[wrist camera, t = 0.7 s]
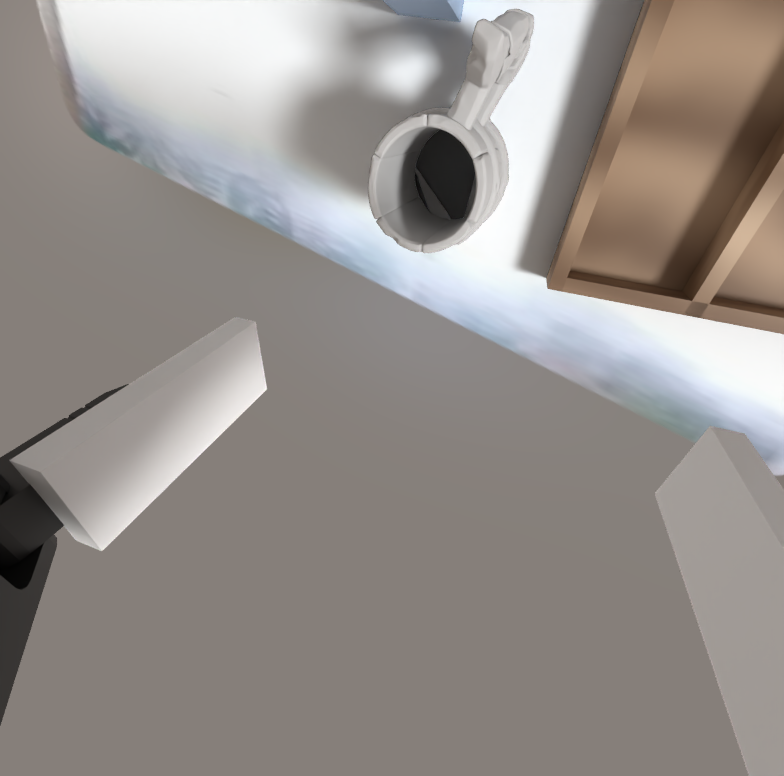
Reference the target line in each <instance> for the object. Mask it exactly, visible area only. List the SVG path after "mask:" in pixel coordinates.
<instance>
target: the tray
mask: <svg viewBox="0 0 784 776" xmlns="http://www.w3.org/2000/svg"><path fill="white" fill-rule="evenodd" d="M546 279H547V288H548V289H552V290H557V291H562V292H568V293H573V294H578V295H583V296H588V297H594V298H599V299H604V300H609V301H614V302H620V303H625V304H630V305H635V306H640V307H646V308H651V309H656V310H661V311H666V312H672V313H677V314H682V315H687V316H692V317H697V318H703V319H708V320H713V321H718V322H723V323H729V324H734V325H739V326H744V327H749V328H755V329H760V330H765V331H770V332H775V333H781V334H784V0H644V3H643V6H642V8H641V11H640V14H639V17H638V20H637V23H636V25H635V28H634V31H633V34H632V37H631V40H630V42H629V45H628V48H627V51H626V54H625V57H624V59H623V62H622V65H621V68H620V71H619V74H618V76H617V79H616V82H615V85H614V88H613V91H612V94H611V96H610V99H609V102H608V105H607V108H606V111H605V113H604V116H603V119H602V122H601V125H600V128H599V130H598V133H597V136H596V139H595V142H594V145H593V147H592V150H591V153H590V156H589V159H588V162H587V164H586V167H585V170H584V173H583V176H582V179H581V181H580V184H579V187H578V190H577V193H576V196H575V198H574V201H573V204H572V207H571V210H570V213H569V215H568V218H567V221H566V224H565V227H564V230H563V232H562V235H561V238H560V241H559V244H558V247H557V249H556V252H555V255H554V258H553V261H552V264H551V266H550V269H549V272H548V275H547V278H546Z"/></svg>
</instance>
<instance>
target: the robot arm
mask: <svg viewBox="0 0 784 776" xmlns="http://www.w3.org/2000/svg"><path fill="white" fill-rule="evenodd" d="M266 389H267V387H266V380H265V375H264V369H263V363H262V357H261V352H260V345H259V339H258V333H257V327H256V322H255V321H250V320H246V319H242V318H237V317H235V318H233V319H231V320H230V321H228V322H227V323H225V324H223V325H222V326H220V327H219V328H217V329H215V330H214V331H212V332H211V333H209V334H208V335H206V336H205V337H203V338H201V339H200V340H198V341H197V342H195V343H193V344H192V345H190V346H189V347H187V348H186V349H184V350H183V351H181V352H179V353H178V354H176V355H175V356H173V357H171V358H170V359H168V360H167V361H165V362H164V363H162V364H160V365H159V366H157V367H156V368H154V369H152V370H151V371H149V372H148V373H146V374H145V375H143V376H141V377H140V378H138V379H137V380H135V381H134V382H132V383H131V384H127V385H125V386H122V387H119V388H117V389H114V390H111V391H109V392H106V393H104V394H103V395H101V396H99V397H98V398H96V399H94V400H93V401H91V402H90V403H88V404H86V405H85V408H80V409H78V410H77V411H75V412H73V413H72V414H71V415H69V417H68V418H67V419H66V418H64V419H62V420H60V421H59V422H57V423H56V424H54V425H53V426H51V427H49V428H48V429H46V430H44V431H43V432H41V433H40V434H38V435H36V436H35V437H33V438H31V439H30V440H28V441H27V442H25V443H23V444H22V445H20V446H18V447H17V448H16V449H14V450H12V451H10V452H9V453H7V454H6V455H4V456H2V457H1V458H0V725H1V722H2V718H3V715H4V712H5V709H6V706H7V703H8V699H9V696H10V693H11V690H12V687H13V684H14V680H15V677H16V674H17V671H18V667H19V665H20V661H21V658H22V655H23V652H24V649H25V645H26V642H27V639H28V636H29V633H30V630H31V627H32V623H33V620H34V617H35V614H36V610H37V608H38V604H39V601H40V598H41V595H42V592H43V589H44V585H45V582H46V579H47V576H48V573H49V569H50V566H51V563H52V560H53V557H54V554H55V551H56V547H57V538H56V537H55V535H54V534H55V533H56V532H57V531H58V530H59V529H61V528H62V527H63V526H65V528H66V529H67V530H68V531H69V533H70V534H71V535H72V536H73V538H74V539H75V540H76V541H79V542H81V543H83V544H86V545H89V546H91V547H93V548H96V549H98V550H100V551H102V550H103V549H105V547H106V546H108V545H109V544H110V543H111V542H112V541H113V540H114V539H115V538H116V537H117V536H118V535H119V534H120V533H121V532H122V531H123V530H124V529H125V528H126V527H127V526H128V525H129V524H130V523H131V522H132V521H133V520H134V519H135V518H136V517H137V516H138V515H139V514H140V513H141V512H142V511H143V510H144V509H145V508H146V507H147V506H148V505H149V504H150V503H151V502H152V501H153V500H154V499H155V498H156V497H157V496H158V495H159V494H161V493H162V491H164V490H165V489H166V488H167V487H168V486H169V485H170V484H171V483H172V482H173V481H174V480H175V479H176V478H177V477H178V476H179V475H180V474H181V473H182V472H183V471H184V470H185V469H186V468H187V467H188V466H189V465H190V464H191V463H192V462H193V461H194V460H195V459H196V458H197V457H198V456H199V455H200V454H201V453H202V452H203V451H204V450H205V449H206V448H207V447H208V446H209V445H210V444H211V443H213V442H214V440H216V439H217V438H218V437H219V436H220V435H221V434H222V433H223V432H224V431H225V430H226V429H227V428H228V427H229V426H230V425H231V424H232V423H233V422H234V421H235V420H236V419H237V418H238V417H239V416H240V415H241V414H242V413H243V412H244V411H245V410H246V409H247V408H248V407H249V406H250V405H251V404H252V403H253V402H254V401H255V400H256V399H257V398H258V397H259V396H260V395H261V394H262V393H263V392H264V391H265V390H266ZM655 496H656V499H657V502H658V505H659V508H660V511H661V514H662V517H663V520H664V523H665V526H666V529H667V532H668V535H669V538H670V541H671V544H672V547H673V550H674V553H675V556H676V559H677V562H678V565H679V568H680V571H681V574H682V577H683V580H684V583H685V586H686V589H687V592H688V595H689V597H690V601H691V604H692V607H693V610H694V613H695V616H696V619H697V622H698V625H699V628H700V631H701V634H702V637H703V640H704V643H705V646H706V649H707V652H708V655H709V658H710V661H711V664H712V667H713V670H714V673H715V676H716V679H717V682H718V685H719V688H720V691H721V693H722V697H723V700H724V703H725V706H726V709H727V711H728V715H729V718H730V721H731V724H732V727H733V730H734V732H735V735H736V738H737V742H738V745H739V748H740V751H741V754H742V757H743V760H744V763H745V766H746V769H747V772H748V775H749V776H784V489H783V488H782V487H781V485H780V484H779V482H778V481H777V479H776V478H775V477H774V475H773V474H772V472H771V471H770V469H769V468H768V466H767V465H766V464H765V462H764V461H763V459H762V458H761V456H760V455H759V453H758V452H757V451H756V449H755V448H754V446H753V445H752V443H751V442H750V440H749V439H748V438H747V436H746V435H745V434H743V433H739V432H735V431H730V430H726V429H722V428H717V427H713V426H710V427H709V428H708V429H707V430H706V432H705V433H704V434H703V435H702V436H701V438H700V439H699V440H698V441H697V443H696V444H695V445H694V446H693V447H692V449H691V450H690V451H689V453H688V454H687V455H686V456H685V457H684V458H683V460H682V461H681V462H680V463H679V465H678V466H677V467H676V468H675V469H674V471H673V472H672V473H671V474H670V476H669V477H668V478H667V479H666V481H665V482H664V483H663V484H662V485H661V487H660V488H659V489H658V490H657V491H656V493H655Z"/></svg>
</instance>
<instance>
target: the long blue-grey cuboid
mask: <svg viewBox="0 0 784 776" xmlns="http://www.w3.org/2000/svg"><path fill="white" fill-rule="evenodd" d="M383 1H384V2H385V3H386V4H387V5H388V6H389V7H390V8H391V9H392V10H393V11H395V12H396V13H397V14H398V15H405V16H414V17H422V18H430V19H438V20H447V21H455V22H460V21H461V15H462V9H463V4H464V0H383Z"/></svg>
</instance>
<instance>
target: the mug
mask: <svg viewBox="0 0 784 776" xmlns="http://www.w3.org/2000/svg"><path fill="white" fill-rule="evenodd" d="M533 28H534V17H533V15H532V14H530V13H527V12H525V11H522V10H520V9H511V10H507V11H506V12H505V13H504V14H503V15H500V16H498V17H497V18H496V19H495V20H494V21H491V22H490V21H488V20H486V19H481V20H479V21H478V22H477V24H476V26H475V29H474V33H473V37H472V42H473V45H472V49H471V51H470V54H469V56H468V58H467V65H466V77H465V80H464V82H463V84H462V86H461V88H460V90H459V92H458V94H457V96H456V99H455V100H454V102H453V104H452V106H451V108H431V109H427V110H424V111H421V112H419V113H416V114H414V115H412V116H409V117H407V118H406V119H405V120H403V121H401V122H400V123H398V124H397V125H395V126H394V127H393V128H391V129H390V130H389V131H388V132H387V133H386V135H385V136H384V137H383V138H382V140H381V141H380V142H379V144H378V146H377V148H376V149H375V154H374V155H373V156H372V159H371V166H370V171H369V182H368V196H369V203H370V207H371V211H372V214H373V216H374V218H375V219H378V218H379V219H378V220H377V221H376V222H377V224H378V225H379V226H380V228H381V229H382V231H383V232H384V233H385V234H386V235H388V236H390V237H392V238H393V239H394V240H395V241H396V242H397V244H399V245H400V246H402V247H404V248H406V249H408V250H411V251H415V252H423V253H432V252H438V251H441V250H444V249H447V248H449V247H451V246H453V245H455V244H460V243H462V242H464V241H465V240H466V239H467V238H468V237H469V236H470V235H472V234H473V233H474V232H475V231H476V230H477V229H478V228H479V227H480V226H481V225H482V223H484V222H485V221H486V220H487V219H488V218H489V217H490V216H491V214H492V213H493V212H494V211H495V209H496V208H497V206H498V204H499V203H500V201H501V199H502V197H503V195H504V191H505V188H506V186H507V184H508V181H509V174H508V173H509V160H508V153H507V149H506V145H505V142H504V140H503V138H502V136H501V134H500V132H499V130H498V129H497V128H496V126H495V125H494V124H493V123H492V122H491V119H490V116H491V114H492V113H493V111H494V109H495V107H496V105H497V104H498V102H499V100H500V98H501V97H502V95H503V93H504V92H505V90H506V88H507V87H508V85H509V84H510V83H511V82H512V81H513V79H514V77H515V76H516V74H517V73H518V71H519V69H520V67H521V66H522V64H523V62H524V60H525V58H526V56H527V54H528V51H529V48H530V39H531V36H532V33H533ZM439 130H444V131H446V132H448V133H450V134H452V135H453V136H454V137H456V138H457V139H458V140H459V141H460V142H461V143H462V144H463V145H464V147H465V148H466V150H467V151H468V153H469V155H470V156H471V158H472V159H473V164H474V168H475V177H474V181H473V185H472V189H471V192H470V196H469V200H468V204H467V208H466V212H465V216H464V218H461V219H451V217H450V216H449V214H448V213H447V211H446V210H445V209H444V207H443V206H442V204H441V203H440V201H439V200H438V198H437V197H436V195H435V194H434V193H433V191H432V190H431V188H430V187H429V185H428V184H427V182H426V181H425V179H424V178H423V176H422V175H421V174H420V172H419V171H418V169H417V168H416V163H417V160H418V157H419V155H420V152H421V151H420V150H422V148H423V147H424V145H425V143H426V142H427V141H428V140H429V138H430V137H431V136H433V135H434V134H435V133H436V132H438V131H439ZM415 172H416V174H417V177H418V180H419V183H420V186H421V189H422V192H423V195H424V198H425V201H426V204H427V206H428V209H429V210H428V209H427V208H426V206H425V205H424V204H423V202H422V200H421V198H420V197H419V193H418V191H417V188H416V183H415Z"/></svg>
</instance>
